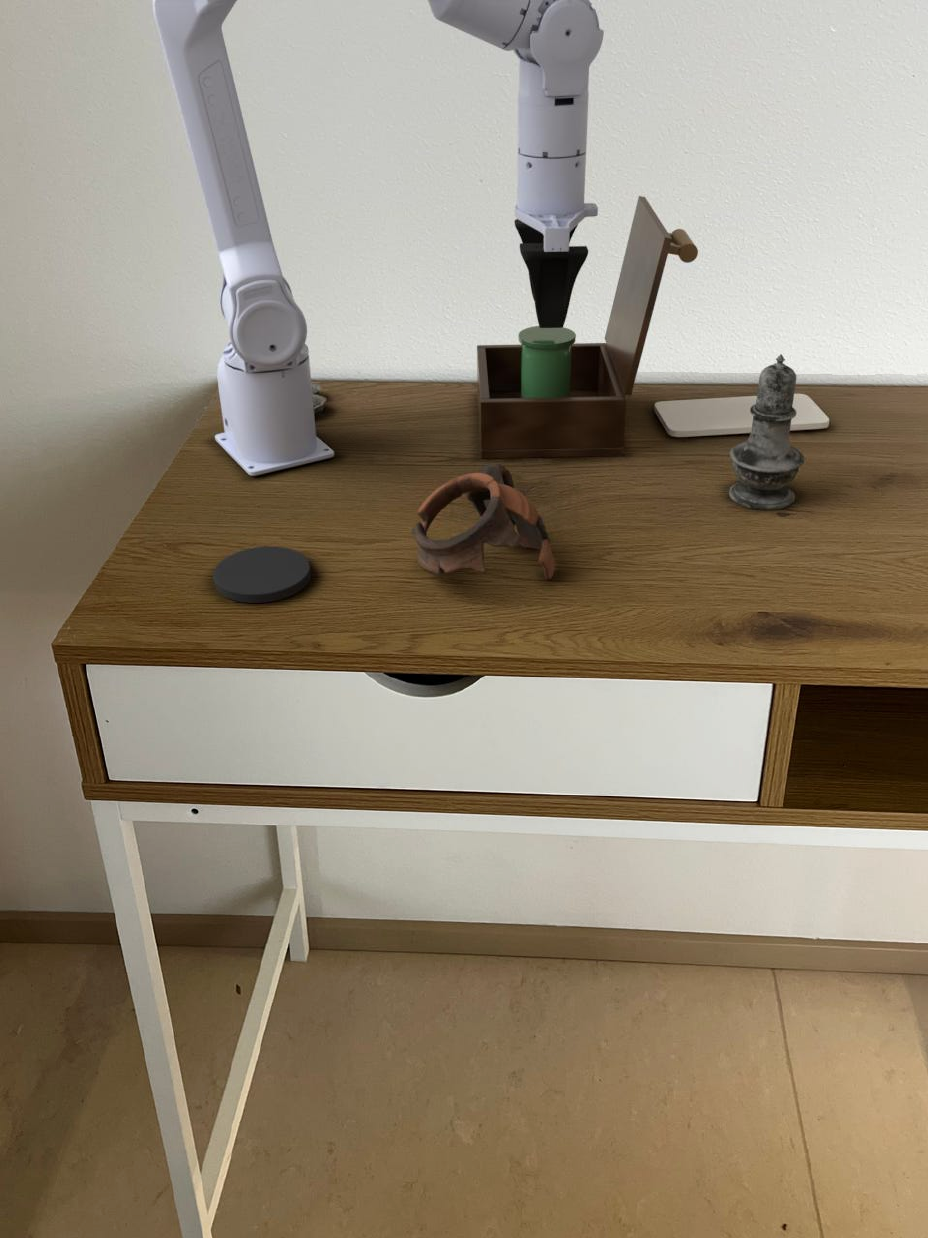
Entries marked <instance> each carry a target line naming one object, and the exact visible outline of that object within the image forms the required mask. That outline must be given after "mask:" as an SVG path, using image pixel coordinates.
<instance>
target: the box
mask: <svg viewBox="0 0 928 1238" xmlns="http://www.w3.org/2000/svg"><path fill="white" fill-rule="evenodd" d="M521 355H522V344H521V343H520V344H478V345H476V390H477V391H476V393H477V394H476V395H477V396H476V397H477V398H476V399H477V413H478V429H479V445H480V458H481V459H522V458H523V459H525V458H526V459H527V458H529V459H530V458H531V459H532V458H577V457H579V458H581V457H585V458H586V457H623V456H624V454H625V441H626V440H625V439H626V427H627V425H626V424H627V411H628V398H627V395H624V392H623V389H622V386H621V384H620V381H619V378H618V375H617V372H616V369H615V367H614V364H613V361H612V358H611V355H610V352H609V350H608V347H607V344H606V342H587V343H586V342H585V343H576V342H575V343H573V344H572V363H571V390H570V397H565V398H521Z"/></svg>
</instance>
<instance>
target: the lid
mask: <svg viewBox="0 0 928 1238" xmlns="http://www.w3.org/2000/svg"><path fill="white" fill-rule="evenodd" d="M669 255H675V256H678V258H679V259H680V261H682V262H683V263H686V264H689V263H692V262H694V261H695V260H696V259H697V258H698V255H699V250H698V246H696V244H695V243H694V241H693V240H692V239H691V237H690V236H689V235H688V232H687V231H686V230H684V229H682V228H677V229H674V230H673V231H672V232H668V230H667V229H666V227H665V225H664V224H663V222H662V221H661V219H660V218H659V216H658V215H657V213H656V212H655V211H654V208H653V207H652V205H651V204H650V202H649V201H648V199H647V198H646V196H642V195H639V196H638V198H637V202H636V206H635V209H634V214H633V219H632V222H631V227H630V231H629V234H628V239H627V243H626V248H625V252H624V256H623V261H622V264H621V268H620V273H619V277H618V280H617V286H616V289H615V293H614V297H613V301H612V305H611V310H610V313H609V314H610V315H609V319H608V322H607V326H606V330H605V335H604V341H605V343H606V344H607V347H608V350H609V352H610V355H611V358H612V361H613V364H614V367H615V369H616V372H617V375H618V378H619V381H620V384H621V386H622V389H623V392H624V395H626V396H630V397H631V396H632V394H633V389H634V387H635V383H636V378H637V374H638V371H639V367H640V363H641V359H642V355H643V353H644V352H643V351H644V348H645V344H646V340H647V336H648V332H649V328H650V325H651V321H652V316H653V314H654V309H655V305H656V302H657V298H658V294H659V291H660V286H661V282H662V279H663V275H664V271H665V267H666V263H667V259H668V256H669Z"/></svg>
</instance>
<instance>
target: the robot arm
mask: <svg viewBox="0 0 928 1238" xmlns="http://www.w3.org/2000/svg"><path fill="white" fill-rule="evenodd" d="M237 1H238V0H152V1H151V2H152V13H153V17H154V20H155V23H156V28H157V31H158V35H159V38H160V43H161V47H162V51H163V53H164V54H163V55H164V57H165V61H166V64H167V68H168V72H169V75H170V79H171V83H172V87H173V91H174V95H175V99H176V102H177V105H178V109H179V113H180V117H181V120H182V124H183V128H184V131H185V135H186V140H187V143H188V146H189V147H188V148H189V150H190V154H191V157H192V162H193V165H194V169H195V172H196V177H197V180H198V183H199V187H200V191H201V195H202V198H203V202H204V207H205V211H206V213H207V217H208V221H209V224H210V228H211V232H212V236H213V239H214V243H215V247H216V252H217V257H218V260H219V264H220V268H221V273H222V284H221V288H220V293H219V308H220V310H221V314H222V317H223V318H224V320H225V323H226V325H227V331H228V338H229V341H228V342H227V343H226V347H224V349H223V351H222V356H221V358H220V360H219V362H218V365H217V369H216V380H217V386H218V394H219V401H220V409H221V416H222V424H223V431H224V432H220V433H217V434H215V435H214V440H215V441H216V443H218V445H219V446H221V448H222V449H223V450H224V451H225V452H226V453H227V454H228V455H229V456H230V457H231V458H232V459H233V460H234V461H235V462H236V463H237V464H238V465H239V466H240V467H241V468H242V470H243V471H245V473H247V474H248V475H249V476H250V477H256V476H260V475H265V474H269V473H273V472H278V471H281V470H286V469H289V468H294V467H298V466H303V465H307V464H310V463H314V462H319V461H323V460H327V459H331V458H333V457H335V450H333V449H332V448H330V447H329V446H328V444H326V443H325V442H323V441H322V439H320V438H319V437H318V436H317V430H316V429H317V428H316V419H315V414H314V406H313V395H312V384H311V382H312V375H311V365H310V364H311V363H310V355H309V353H310V351H309V347H308V345H307V344H306V341H307V336H308V325H307V321H306V317H305V315H304V313H303V311H302V309H301V308H300V307H299V306H298V304H297V303H296V300H295V299H294V296H293V293H292V289H291V286H290V284H289V282H288V281H287V279H286V278H285V277H284V275H283V272H282V268H281V264H280V261H279V258H278V256H277V251H276V248H275V245H274V242H273V238H272V234H271V230H270V225H269V221H268V217H267V212H266V208H265V204H264V200H263V196H262V192H261V188H260V183H259V180H258V175H257V171H256V167H255V162H254V158H253V154H252V151H251V147H250V142H249V138H248V134H247V129H246V125H245V121H244V117H243V112H242V109H241V105H240V101H239V96H238V92H237V88H236V84H235V79H234V76H233V71H232V66H231V63H230V59H229V55H228V54H229V53H228V50H227V46H226V42H225V38H224V34H223V33H224V32H223V29H222V28H223V25H224V21H226V19H227V17H228V16H229V14H230V12H231V11H232V9H233V8H234V6H235V5H236V3H237ZM427 1H428V5H429V7H430V10H431V13H432V15H433V17H434V18H435V20H438V21H439V22H442V23H444V24H446V25H448V26H450V27H452V28H455V29H458V30H459V31H461V32H464V33H465V34H467V35H470V36H472V37H475V38H476V39H478V40H480V41H483V42H486V43H488V44H489V45H492V46H494V47H496V48H499V49H501V50H503V51H507V52H511V51H513V53H514V55H516V57H517V58H518V59H519V63H518V64H519V65H518V66H519V70H518V71H519V72H518V73H519V74H518V75H519V76H518V77H519V78H518V80H519V81H518V94H517V171H516V172H517V174H516V177H517V179H516V181H517V182H516V185H517V186H516V205H515V206H514V218H516V219H514V221H513V222H514V227H515V229H516V231H517V233H518V235H519V238H520V240H521V242H520V243H519V252H520V255H521V257H522V259H523V262H524V264H525V266H526V269H527V272H528V277H529V284H530V291H531V294H532V295H531V296H532V298H533V302H534V308H535V314H536V319H537V323H538V326H539V327H540V328H562V327H564V325H565V323H566V319H567V315H568V311H569V307H570V302H571V298H572V293H573V289H574V286H575V283H576V280H577V278H578V275H579V273H580V271H581V269H582V267H583V265H584V264H585V262H586V260H587V258H588V255H589V248H588V246H587V245H577V246H576V245H573V246H571V245H570V243H571V240H572V238H573V235H574V233H575V232H576V230H577V228H578V226H579V224H580V223H581V222H582V221H583V220H584V219H585V218H589V217H591V218H592V217H593V218H594V217H597V216H598V214H599V207H598V205H597V204H596V203H592V202H589V203H587V202H585V190H586V165H587V147H588V146H587V144H588V141H587V140H588V123H589V122H588V119H589V97H590V96H589V93H590V91H589V81H590V80H589V79H590V66H591V65H592V63H593V62H594V60H595V59H596V57H597V56H598V54H599V52H600V50H601V47H602V45H603V41H604V34H605V31H604V30H603V29H601V27H600V21H599V15H598V14H597V10H596V8H594V7H593V6H592V5H593V3H592V2H591V1H590V0H427Z"/></svg>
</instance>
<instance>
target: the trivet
mask: <svg viewBox="0 0 928 1238" xmlns="http://www.w3.org/2000/svg"><path fill="white" fill-rule="evenodd" d="M311 577H312V572H311V564H310V561H309V559H308V558H307V557H306V556H305V555H304V554H302V553H301V552H299V551H297V550H295V549H292V548H287V547H282V546H257V547H250V548H247V549H244V550H240V551H237V552H235V553H232V554H230V555H228V556H226V557H225V558H223V559H222V560H221V561H220V562H219V563H218V564H217V565H216V567H215V568H214V570H213V582H214V587H215V589H216V591H217V592H218V593H219V594H220V595H221V596H223V597H224V598H226V599H228V600H231V601H234V602H238V603H244V604H265V603H266V604H267V603H273V602H277V601H281V600H284V599H287V598H290V597H292V596H294V595H296V594H297V593H300V592H301V591H302V590H303V589H304V588H305V587H306V586H307V585H308V584H309V582H310V580H311Z"/></svg>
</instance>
